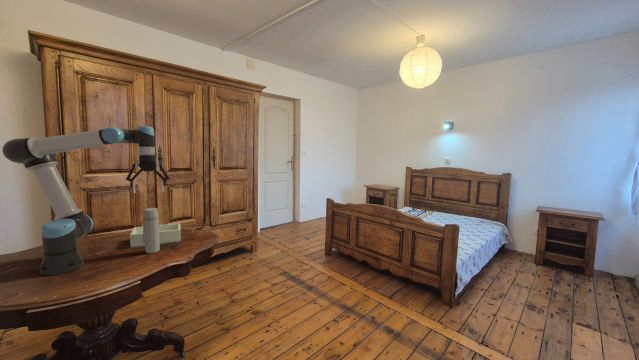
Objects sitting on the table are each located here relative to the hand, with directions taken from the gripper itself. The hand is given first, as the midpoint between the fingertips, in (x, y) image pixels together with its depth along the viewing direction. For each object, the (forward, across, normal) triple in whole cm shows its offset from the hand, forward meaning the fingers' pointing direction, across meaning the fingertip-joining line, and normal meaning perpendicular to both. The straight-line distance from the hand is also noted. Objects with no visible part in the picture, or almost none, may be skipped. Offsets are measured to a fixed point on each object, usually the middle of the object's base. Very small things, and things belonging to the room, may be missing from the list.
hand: (149, 192), depth 148 cm
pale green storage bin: (+35, +2, +19) cm, 40 cm away
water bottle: (+35, 0, 0) cm, 35 cm away
